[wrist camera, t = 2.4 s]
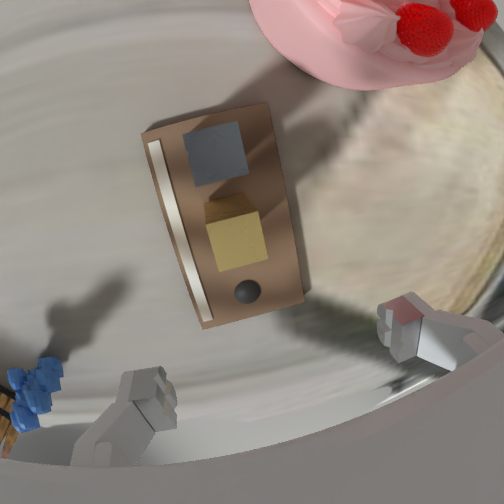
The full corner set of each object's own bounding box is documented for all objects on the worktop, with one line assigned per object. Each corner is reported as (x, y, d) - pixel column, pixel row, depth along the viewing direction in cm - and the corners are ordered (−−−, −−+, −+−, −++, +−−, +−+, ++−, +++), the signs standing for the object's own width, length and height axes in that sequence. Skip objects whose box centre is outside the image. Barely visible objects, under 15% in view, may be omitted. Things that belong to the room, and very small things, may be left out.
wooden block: (203, 202, 26) (205, 224, 20) (243, 192, 26) (258, 211, 20) (213, 239, 27) (219, 272, 21) (252, 229, 28) (268, 259, 21)
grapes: (43, 314, 29) (-1, 385, 18) (86, 351, 31) (59, 429, 20) (11, 359, 30) (-22, 421, 19) (48, 389, 33) (24, 455, 22)
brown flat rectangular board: (142, 133, 24) (140, 133, 23) (264, 103, 25) (267, 102, 24) (202, 324, 32) (202, 330, 31) (301, 297, 33) (304, 302, 32)
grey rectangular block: (186, 134, 24) (182, 134, 18) (227, 124, 24) (237, 120, 18) (196, 174, 25) (195, 187, 19) (236, 163, 26) (249, 173, 19)
